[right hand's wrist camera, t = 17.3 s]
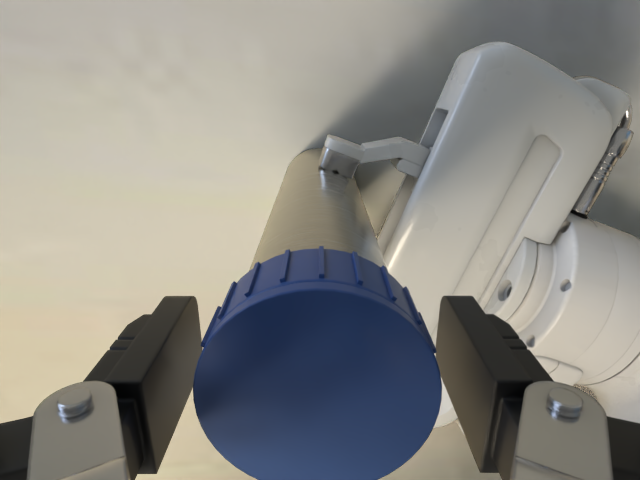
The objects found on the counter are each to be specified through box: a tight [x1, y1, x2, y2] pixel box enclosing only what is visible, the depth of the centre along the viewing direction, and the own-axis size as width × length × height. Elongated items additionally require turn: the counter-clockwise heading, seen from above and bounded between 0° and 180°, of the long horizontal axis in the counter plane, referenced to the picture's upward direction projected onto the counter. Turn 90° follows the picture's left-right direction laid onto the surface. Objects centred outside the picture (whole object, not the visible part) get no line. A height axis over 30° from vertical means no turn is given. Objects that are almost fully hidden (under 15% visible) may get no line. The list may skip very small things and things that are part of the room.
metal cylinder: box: [249, 148, 388, 271], centre depth 19 cm, size 4×4×20 cm
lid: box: [193, 246, 442, 480], centre depth 10 cm, size 5×5×2 cm
